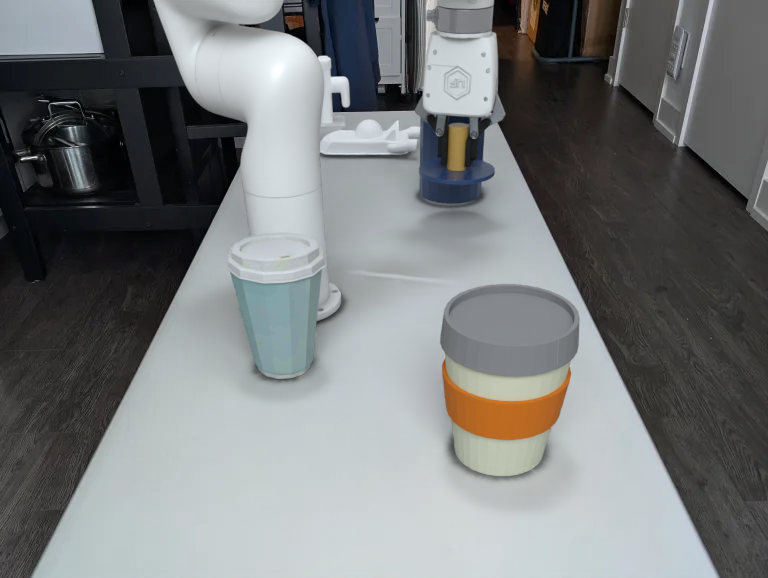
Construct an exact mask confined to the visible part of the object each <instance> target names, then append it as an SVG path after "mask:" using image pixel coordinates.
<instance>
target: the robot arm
mask: <svg viewBox="0 0 768 578" xmlns="http://www.w3.org/2000/svg"><path fill="white" fill-rule="evenodd" d="M284 1H285V0H153V3H154V6H155V9H156V12H157V14H158V17H159V20H160V23H161V26H162V28H163V31H164V33H165V36H166V39H167V41H168V43H169V47H170V50H171V52H172V55H173V58H174V61H175V63H176V66H177V69H178V72H179V74H180V76H181V78H182V81H183V83H184V86H185V87H186V89H187V91H188V93H189V94H190V95H191V97H192V98H193V99H194V101H195V102H196V103H197V104H198V105H200V107H202V108H203V109H205V110H207V112H211V113H213V114H215V115H219V116H222V117H224V118H229V119H233V120H237V121H240V122H243V123H246V124H247V132H246V137H245V140H244V143H243V148H242V150H241V154H240V155H241V156H240V178H241V185H242V190H243V191H242V192H243V199H244V209H245V215H246V224H247V231H248V237H251V236H255V235H259V234H264V233H283V232H287V233H294V234H302V235H306V236H309V237H311V238H313V239H315V240H317V241H318V245H319V246H321V247H322V249H323V255H324V259H325V267H324V268H322V274H321V284H320V293H319V303H318V313H317V322H319V321H322V320H324V319H327V318H328V317H330V316H332V315H334V313H336V312H337V311H338V310H339V309H340V307H341V304H342V293H341V290H340V288H338V286H337V285H335V284H334V283H333V282H330V281H329V271H328V256H327V240H326V226H325V224H326V223H325V210H324V195H323V182H322V181H323V180H322V167H321V166H322V165H321V153H320V126H321V115H322V107H323V99H324V75H323V70H322V67H321V64H320V62H319V60H318V57H319V56H317V54H316V53H315V52H314V50H313V49H312V48H311V47H310V46H309V45H308V44H307V43H306V42H304V41H303V40H301V39H300V38H298V37H296V36H293V35H292V34H289V33H285V32H282V31H277V30H272V29H271V30H270V29H264V28H260V27H259V28H258V27H253V26H251V27H249V26H245V25H258V24H262V23H265V22H268V21H270V20H271V19H272V18H274V17H275V16H276V15H277V14H278V13H280V11H281V9H282V6H283V4H284ZM436 1H437V3H436V6H435V8H433V9H427V10H426V22H431V23H433V24H434V26H435V27H434V29H436V30H433V31H432V32H430V33H429V38H428V43H427V49H426V55H425V65H424V75H423V84H422V85H423V86H422V94H421V96H420V98H419V100H418V103H417V104H416V107H415V108H414V113H415V115H417V116H419V118H421V117H422V118H423V119H425V120H427V121H428V123H429V124H430V125H431V127H432V128H433V129H434V130H435V131H436V135H437V136H438V157H441V165H446V164H447V153H448V131H449V129H448V123H449V116H464V117H469V118H470V133H469V137H468V138H467V139H466V151H465V166H466V167H470V166H471V165H472V163H473V160H476V159H477V154H478V140H479V135H480V134H481V133H482V132H483V131H485V132H486V130H487V129H488V128H489V127H490V126H492V125H495V124H497V123H499V122H501V121H503V120H504V119H505V118H506V112H505V108H504V105H503V104H502V100H501V98H500V96H499V93H498V91H499V89H498V88H499V53H498V39H497V33H496V32H494V31H493V17H494V5H495V0H436ZM484 116H486V117H485V118H484V119H483V120H482V117H484Z"/></svg>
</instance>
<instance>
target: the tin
mask: <svg viewBox="0 0 768 578" xmlns="http://www.w3.org/2000/svg"><path fill="white" fill-rule="evenodd" d="M485 117H486V116H484V117H482V120H483V119H484V118H485ZM419 118H420V119H419V127H420V135H419V166H420V165H421V164H423V163H424V162H426V161H429V160H433V159H438V158H441V157H438V136H437V135H436V131H435V130H434V129H433V128H432V127H431V125H430V124H429V123H428V121H427V120H425V119H423V118H422V117H419ZM452 123H465V124H468V125H469V133H470V118H469V117H464V116H449V123H448V129H449V125H450V124H452ZM485 132H486V130H485V131H483V132H482V133H481V134H480V135H479V140H478V154H477V160H481V161H484V149H485V148H484V146H485V134H486V133H485ZM482 183H483V182H480V183H474V184H467V185H449V184H443V183H437V182H433V181H430V180H427V179H425V178H423V177H422V176H421V175H420V174H419V195H420V196H421V198H423V199H425V200H427V201H430V202H434V203H437V204H447V205H449V204H451V205H452V204H462V203H469V202H471V201H474V200H477V199H478V198H479V197H481V196H482Z"/></svg>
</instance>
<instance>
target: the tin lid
mask: <svg viewBox="0 0 768 578" xmlns="http://www.w3.org/2000/svg"><path fill="white" fill-rule="evenodd" d="M468 137H469V125H468V124H465V123H452V124H450V125H449V131H448V153H447V164H446V165H441V158H438V159H433V160H429V161H426V162H424V163H423V164H421V165H420V164H419V167H418V174H419V176H420V175H421V176H422V177H423V178H425V179H427V180H430V181H433V182H437V183H443V184H449V185H467V184H474V183H480V182H482V183H483V182H487V181H489V180H491V179H492V178H493V177H494V176H495V174H496V173H495V169H496V168H495V166H494V165H492V164H491V163H489V162H487V161H485V160H483V161H481V160H477V159H476V160H473V163H472V165H471V166H470V167H466V166H465V151H466V139H467V138H468Z"/></svg>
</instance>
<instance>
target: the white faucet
mask: <svg viewBox="0 0 768 578" xmlns="http://www.w3.org/2000/svg"><path fill="white" fill-rule="evenodd" d="M317 57H318V60H319V62H320V64H321V67H322V70H323V75H324V99H323V107H322V115H321V126H320V142H321V140H322V139H323V138H324V137H325V136H326V135H327V134H329V133H331V132H334V131H338V130H346V125H347V124H346V116H345V115H334V112H333V110H334V109H333V94H338V93H339V94H340V98H341V106H342V107H343V108H345V109H346V108H349V107H350V106H351V97H350V96H351V93H350V91H351V90H350V82H349V79H348V78H347V77H346V76H344V75H343V76H332V74H331V71H332V59H331V57H330V56H328V55H319V56H317Z"/></svg>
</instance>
